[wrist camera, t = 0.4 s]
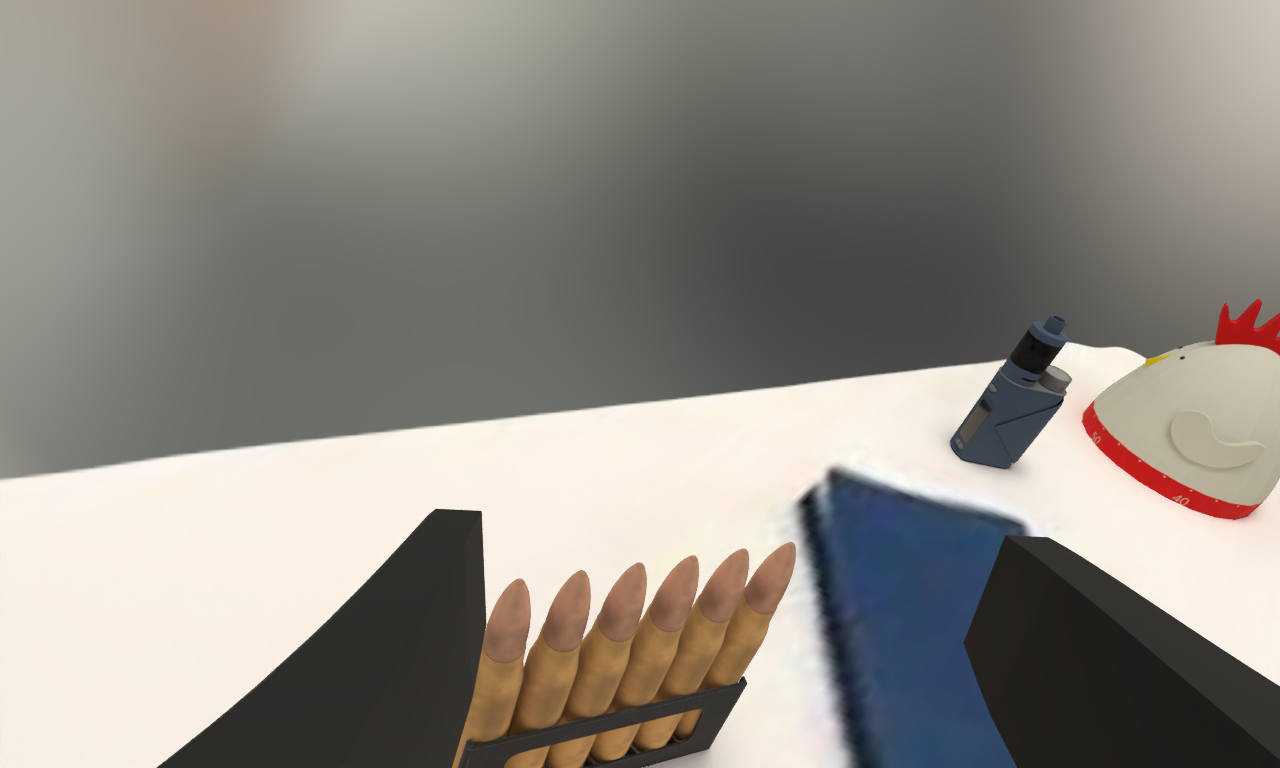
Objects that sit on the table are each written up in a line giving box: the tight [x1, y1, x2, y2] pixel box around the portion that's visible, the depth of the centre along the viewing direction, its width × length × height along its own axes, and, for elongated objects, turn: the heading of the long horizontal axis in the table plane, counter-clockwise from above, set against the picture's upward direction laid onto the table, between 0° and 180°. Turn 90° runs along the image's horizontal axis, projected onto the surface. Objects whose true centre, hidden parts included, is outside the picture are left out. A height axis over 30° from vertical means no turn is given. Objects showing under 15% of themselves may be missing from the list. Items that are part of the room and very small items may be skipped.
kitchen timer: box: [1082, 299, 1280, 520], centre depth 55 cm, size 14×14×15 cm
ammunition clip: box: [452, 542, 796, 768], centre depth 23 cm, size 11×2×12 cm, turn 112°
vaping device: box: [950, 315, 1072, 468], centre depth 48 cm, size 3×5×12 cm, turn 93°
